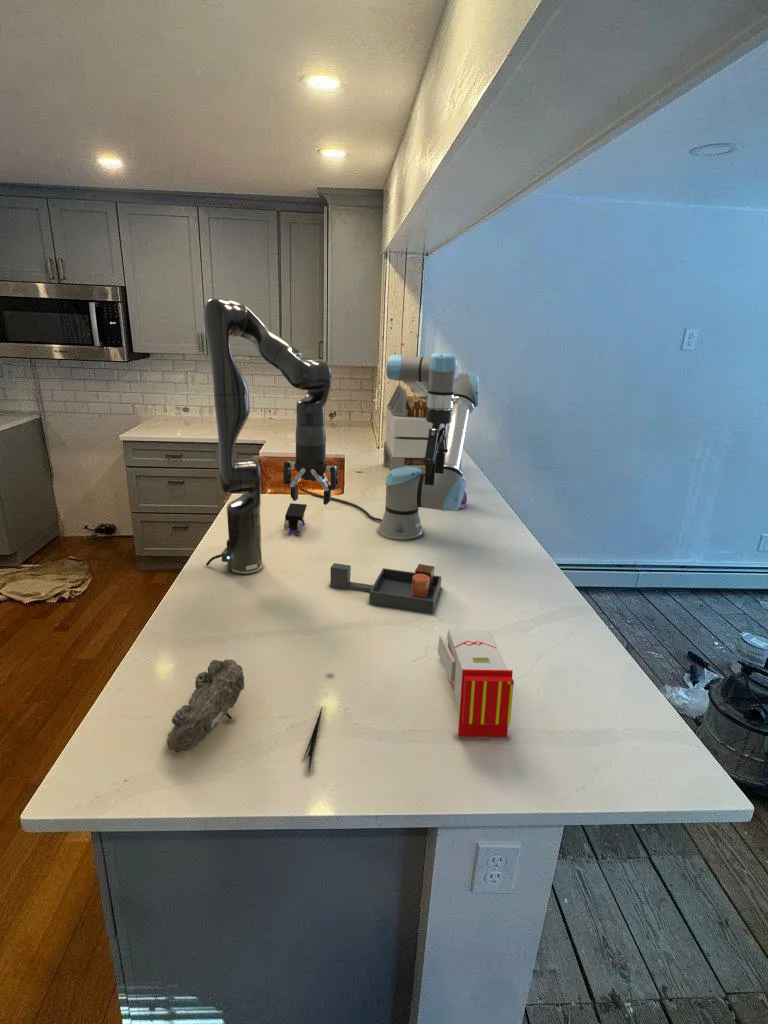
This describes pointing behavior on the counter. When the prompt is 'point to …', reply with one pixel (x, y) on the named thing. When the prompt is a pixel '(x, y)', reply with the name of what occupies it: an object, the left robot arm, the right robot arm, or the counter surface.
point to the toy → (478, 682)
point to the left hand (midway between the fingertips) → (310, 501)
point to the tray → (388, 588)
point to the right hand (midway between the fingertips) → (434, 478)
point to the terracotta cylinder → (420, 586)
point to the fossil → (206, 705)
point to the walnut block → (427, 571)
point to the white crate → (406, 431)
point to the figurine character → (295, 517)
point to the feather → (313, 740)
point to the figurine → (463, 500)
